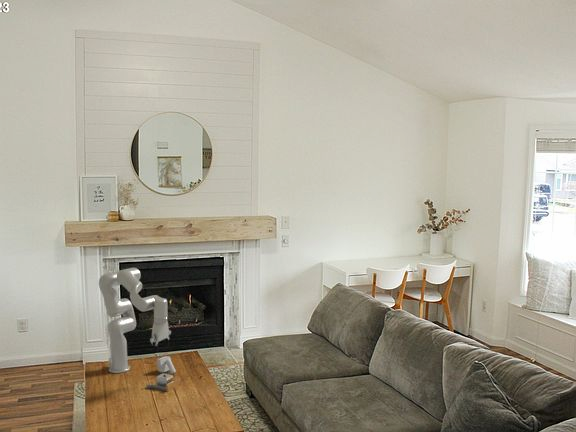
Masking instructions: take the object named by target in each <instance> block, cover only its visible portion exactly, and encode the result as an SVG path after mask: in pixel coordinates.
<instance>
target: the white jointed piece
mask: <svg viewBox="0 0 576 432" xmlns="http://www.w3.org/2000/svg"><path fill="white" fill-rule="evenodd" d="M156 366H157V371H158V372H159V373H165V372H170V375H174V374H175V373H176V372H177V371H176V369H175V366H174V364H173V362H172V358H171V356H168V355H167V356H166V355H165V356H163V357H159V358H157V360H156Z"/></svg>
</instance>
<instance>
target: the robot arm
mask: <svg viewBox="0 0 576 432" xmlns="http://www.w3.org/2000/svg"><path fill="white" fill-rule="evenodd" d="M141 275H142V274H141V271H140V270H139V269H138V267H129V268H125V269H121V270H117V271H116V270H115V271H111V272H107V273H104V274H102V275H101V276H100V277H99V279H98V287H99V291H100V292H101V294H102V296H103V302H104V305H105V310H106V314H107V315H108V317H110V318H115V317H118V318H115V319H112V320H110V321H109V323H108V324H107V331H108V335H109V341H110V342H109V343H110V345H109V346H110V360H108V361H107V363H106V364H107V366H109V368H108V372H110V373H111V374H112V373H113V374H121V373H125V372H128V371H129V370H130V369H131V366H130V365H129V364H128V344H127V343H128V342H127V339H126V337H125V335H124V334H125V333H128V332H130V331H134V330H135V329H136V327H137V319H136V315H135V311H134V310H135V309H134V307H135V308H136V310H138V311H140V312H147V311H152V310H153V324H152V328H151V329H152V330H151V337H150V339H149V341H150V344H151V346H152V352H153V353H158V352H159V345H158V344H159V342H161V341H163V347H165V348H169V347H170V339H171V338H170V337H171V334H172V330H170V329H169V322H168V313H169V312H168V300H167V298H164V297H161V296H159V295H157V294H155V295H154V294H153V295H149V296H146V297H141V295H140V294H139V292H140V291H142V289H143V283H142V282H141V281H140V279H141V277H142V276H141ZM120 285H122V287H123V288H125V290H127V292H129V298H130V300H129V298H120V297H119V293H118V291H117V290H116V289H115V288H114V287H115V286H120ZM133 306H134V307H133ZM119 316H121V317H119Z"/></svg>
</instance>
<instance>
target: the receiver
mask: <svg viewBox="0 0 576 432" xmlns="http://www.w3.org/2000/svg"><path fill="white" fill-rule="evenodd" d="M181 382H182V378H180V377H178V378H176V379H173V381H172V382H171V383H169V384H167V385H166V387H162V386H157V384H146V389H154V390H159V391H163V392H167V393H169V392H170V391H172V390H174V389H175V388H177V387H178V386H181V385H182V383H181Z"/></svg>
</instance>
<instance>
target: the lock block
mask: <svg viewBox="0 0 576 432" xmlns="http://www.w3.org/2000/svg"><path fill="white" fill-rule="evenodd" d="M173 380H174V374H168V373H165V372H161V373H160V374H159V375H157V376H156V385H157V386H162V387H166V385H167V384H169V383H171V382H172V381H173Z"/></svg>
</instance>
